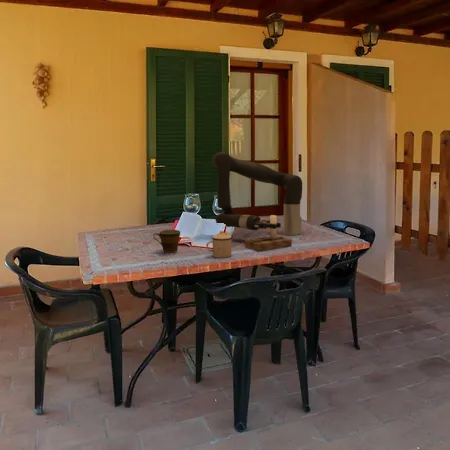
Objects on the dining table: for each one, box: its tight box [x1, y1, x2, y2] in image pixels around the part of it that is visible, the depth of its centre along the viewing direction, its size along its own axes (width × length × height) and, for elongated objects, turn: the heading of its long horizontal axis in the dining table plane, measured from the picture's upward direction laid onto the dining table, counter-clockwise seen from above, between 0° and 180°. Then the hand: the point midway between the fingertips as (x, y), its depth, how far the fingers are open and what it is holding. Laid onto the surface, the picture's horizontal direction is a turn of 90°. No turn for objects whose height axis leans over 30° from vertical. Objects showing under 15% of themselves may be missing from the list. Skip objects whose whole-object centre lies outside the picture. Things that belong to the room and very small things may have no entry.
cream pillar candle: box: [267, 214, 279, 240], centre depth 232 cm, size 4×4×14 cm
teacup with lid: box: [205, 230, 233, 259], centre depth 214 cm, size 12×9×12 cm
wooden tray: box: [244, 234, 293, 253], centre depth 232 cm, size 20×12×4 cm, turn 122°
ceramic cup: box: [152, 229, 181, 254], centre depth 222 cm, size 13×10×10 cm
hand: (278, 226), depth 230 cm, fingers closed on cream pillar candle, 3 cm apart
